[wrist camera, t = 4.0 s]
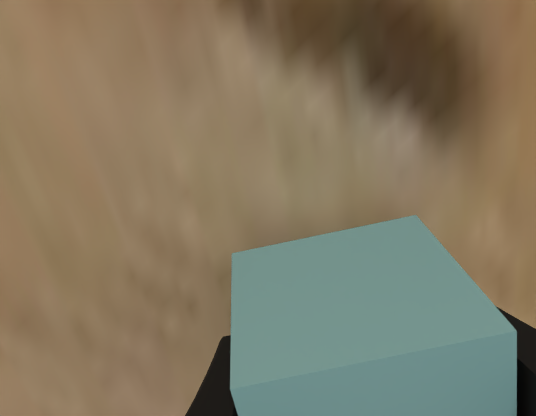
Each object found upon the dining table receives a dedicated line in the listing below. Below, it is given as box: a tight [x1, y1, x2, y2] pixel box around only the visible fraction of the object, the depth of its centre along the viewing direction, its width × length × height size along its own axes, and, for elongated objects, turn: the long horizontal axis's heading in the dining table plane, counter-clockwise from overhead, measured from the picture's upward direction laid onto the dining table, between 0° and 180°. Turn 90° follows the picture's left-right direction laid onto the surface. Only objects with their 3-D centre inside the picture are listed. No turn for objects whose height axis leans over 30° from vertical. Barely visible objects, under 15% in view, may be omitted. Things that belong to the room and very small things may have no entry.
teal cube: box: [230, 215, 517, 416], centre depth 12 cm, size 5×5×5 cm
